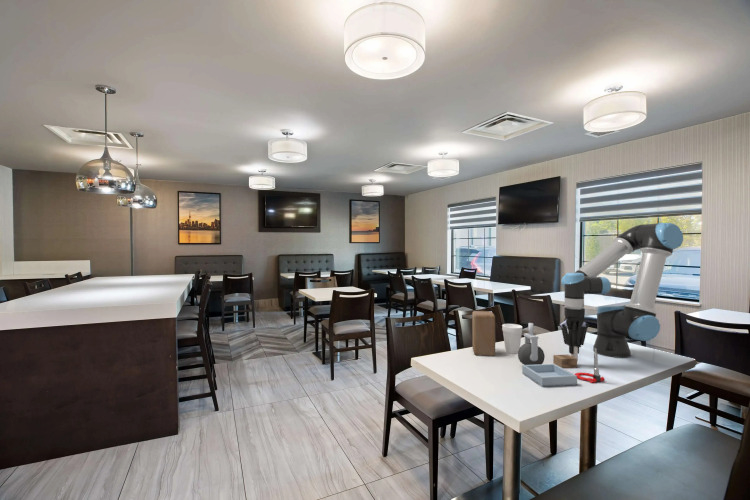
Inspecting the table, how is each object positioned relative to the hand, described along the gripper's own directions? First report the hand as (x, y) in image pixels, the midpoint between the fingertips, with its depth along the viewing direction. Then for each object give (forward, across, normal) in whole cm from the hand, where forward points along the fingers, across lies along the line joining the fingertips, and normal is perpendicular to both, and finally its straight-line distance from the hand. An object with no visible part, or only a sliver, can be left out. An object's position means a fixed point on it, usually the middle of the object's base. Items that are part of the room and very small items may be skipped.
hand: (574, 360), depth 152 cm
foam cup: (+2, +17, -22) cm, 28 cm away
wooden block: (+2, +32, -22) cm, 39 cm away
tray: (+2, +21, +14) cm, 25 cm away
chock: (+2, +4, 0) cm, 5 cm away
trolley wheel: (+2, +20, 0) cm, 20 cm away
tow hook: (+2, +5, +15) cm, 16 cm away
